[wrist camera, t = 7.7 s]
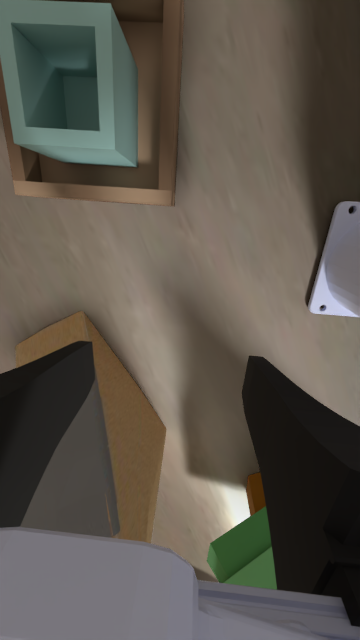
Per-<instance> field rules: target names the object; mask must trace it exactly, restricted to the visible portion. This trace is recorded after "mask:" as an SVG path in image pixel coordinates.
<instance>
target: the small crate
mask: <svg viewBox="0 0 360 640" xmlns="http://www.w3.org/2000/svg"><path fill="white" fill-rule="evenodd" d="M0 59H1V65H2V71H3V77H4V83H5V90H6V96H7V102H8V108H9V115H10V121H11V127H12V133H13V140H14V144H17V145H20V146H22V147H25V148H27V149H30V150H32V151H35V152H38V153H40V154H43V155H45V156H48V157H50V158H53V159H56V160H58V161H61V162H63V163H73V164H89V165H104V166H119V167H135V168H138V68H137V66H136V63H135V61H134V58H133V56H132V53H131V51H130V49H129V46H128V44H127V41H126V39H125V37H124V34H123V32H122V29H121V27H120V25H119V22H118V20H117V17H116V15H115V12H114V10H113V8H112V5H111V3H91V2H66V1H42V0H0Z"/></svg>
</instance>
